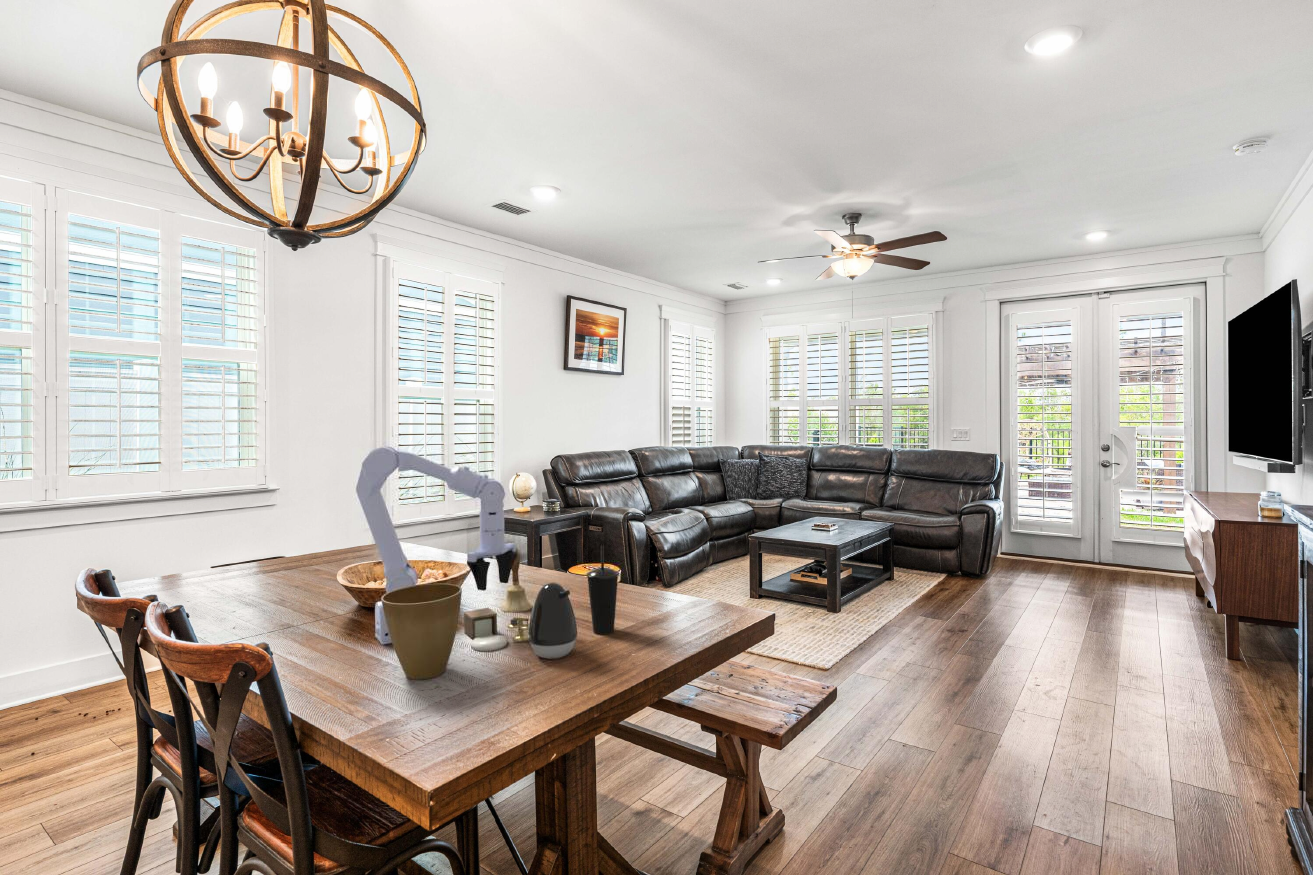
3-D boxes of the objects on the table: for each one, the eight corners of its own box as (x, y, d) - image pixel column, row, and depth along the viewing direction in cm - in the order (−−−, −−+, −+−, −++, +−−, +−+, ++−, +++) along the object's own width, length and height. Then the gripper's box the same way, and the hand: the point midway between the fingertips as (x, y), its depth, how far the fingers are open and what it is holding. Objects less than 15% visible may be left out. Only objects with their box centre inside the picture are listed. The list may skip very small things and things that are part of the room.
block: (475, 638, 149) (474, 621, 149) (469, 634, 152) (469, 617, 152) (492, 635, 151) (491, 618, 151) (486, 630, 155) (485, 614, 154)
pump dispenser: (551, 667, 130) (549, 591, 130) (518, 655, 137) (517, 584, 137) (588, 653, 138) (587, 581, 138) (556, 642, 145) (554, 574, 145)
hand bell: (514, 614, 167) (513, 552, 167) (493, 609, 172) (492, 549, 172) (539, 606, 174) (537, 547, 173) (518, 601, 179) (516, 543, 178)
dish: (478, 653, 139) (477, 648, 139) (466, 643, 145) (466, 639, 145) (512, 646, 143) (511, 641, 143) (499, 637, 149) (499, 632, 149)
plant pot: (437, 654, 139) (435, 579, 139) (478, 670, 130) (477, 590, 129) (368, 675, 128) (366, 594, 127) (409, 695, 118) (407, 607, 118)
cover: (472, 640, 148) (471, 617, 148) (464, 633, 153) (463, 611, 152) (497, 635, 151) (496, 613, 151) (488, 628, 156) (488, 607, 156)
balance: (522, 648, 142) (522, 621, 142) (504, 635, 151) (503, 610, 151) (538, 644, 144) (537, 618, 144) (519, 632, 153) (518, 607, 153)
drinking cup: (615, 637, 148) (613, 549, 147) (582, 635, 149) (581, 548, 149) (623, 626, 155) (622, 543, 155) (592, 625, 157) (591, 542, 156)
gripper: (482, 535, 148) (483, 595, 149) (525, 526, 161) (525, 581, 161) (460, 533, 152) (461, 591, 152) (503, 524, 164) (504, 578, 165)
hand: (493, 586), depth 157 cm, fingers open, 7 cm apart
